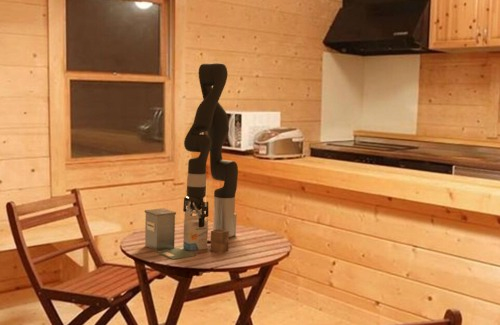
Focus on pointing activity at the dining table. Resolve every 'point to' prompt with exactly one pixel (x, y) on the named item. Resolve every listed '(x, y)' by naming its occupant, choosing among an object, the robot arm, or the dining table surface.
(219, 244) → the walnut block
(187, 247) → the ink box
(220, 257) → the dining table surface
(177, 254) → the pad
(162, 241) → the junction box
